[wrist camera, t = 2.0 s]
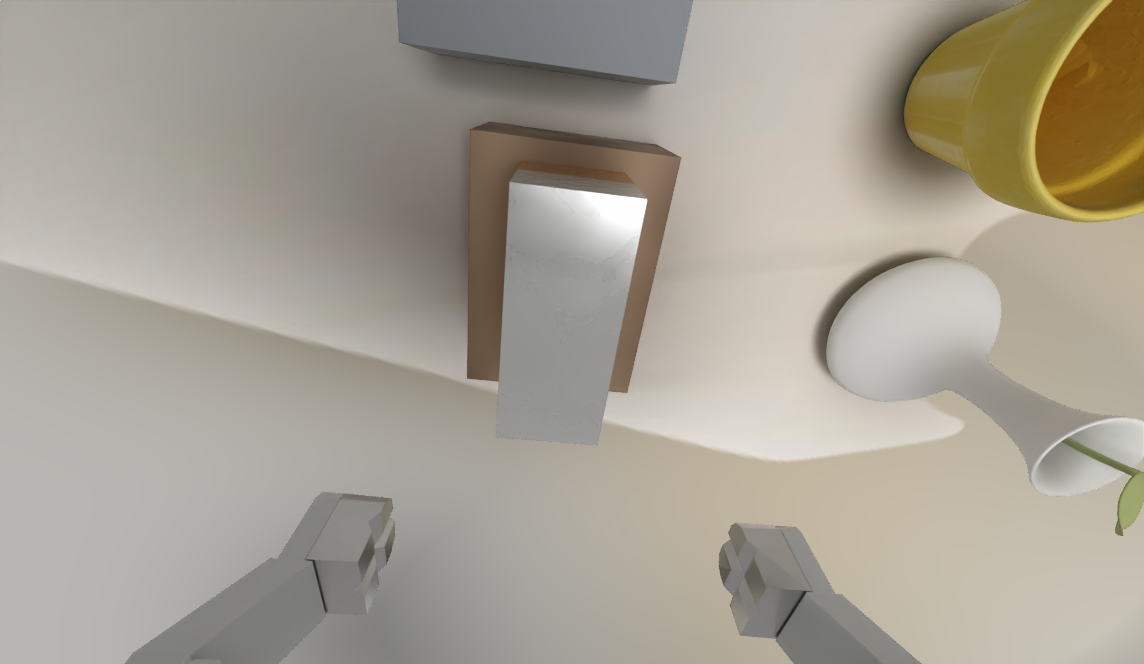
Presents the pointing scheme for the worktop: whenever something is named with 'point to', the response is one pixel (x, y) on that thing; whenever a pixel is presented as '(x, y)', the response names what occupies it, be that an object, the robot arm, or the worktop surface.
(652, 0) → the stand
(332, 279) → the worktop surface
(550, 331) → the grey and tan block
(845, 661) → the robot arm
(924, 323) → the flower in vase
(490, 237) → the stand
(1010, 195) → the plant pot
